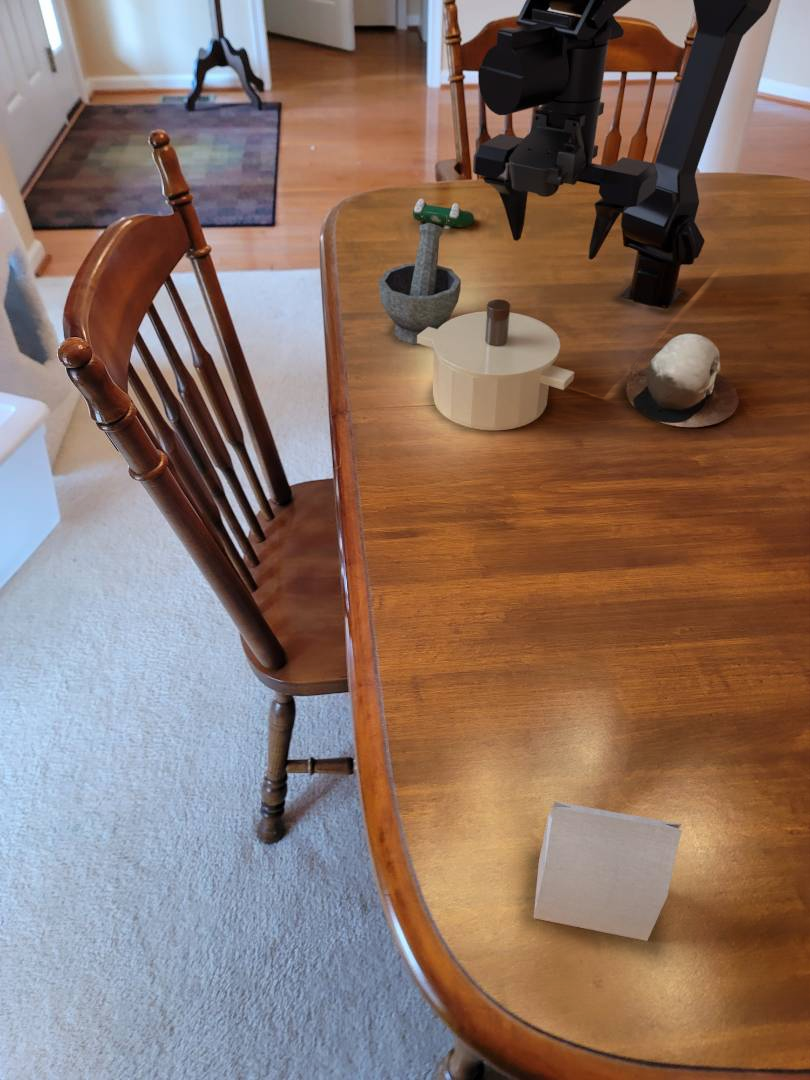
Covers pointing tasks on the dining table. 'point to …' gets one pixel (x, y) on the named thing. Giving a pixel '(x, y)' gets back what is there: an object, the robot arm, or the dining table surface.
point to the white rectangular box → (605, 870)
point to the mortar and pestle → (420, 289)
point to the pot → (491, 394)
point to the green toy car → (442, 215)
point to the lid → (496, 343)
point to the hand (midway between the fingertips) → (553, 248)
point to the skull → (684, 385)
